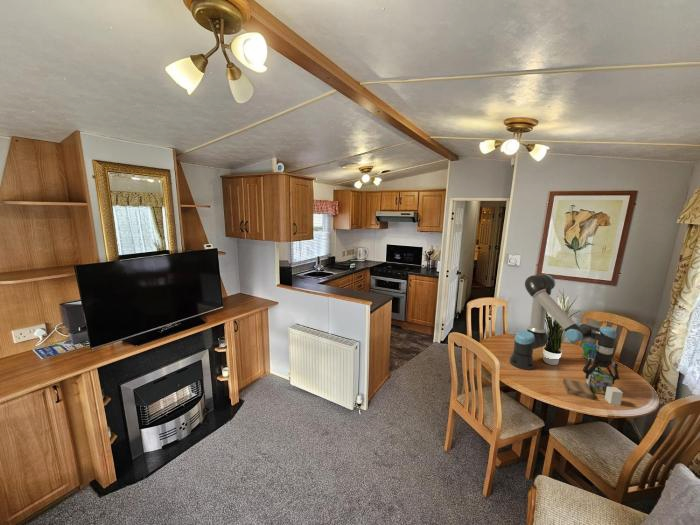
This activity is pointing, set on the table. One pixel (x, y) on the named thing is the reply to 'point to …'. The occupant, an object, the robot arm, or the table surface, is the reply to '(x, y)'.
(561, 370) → the table surface
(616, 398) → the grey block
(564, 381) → the walnut block
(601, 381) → the chalk box
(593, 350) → the snack cup
